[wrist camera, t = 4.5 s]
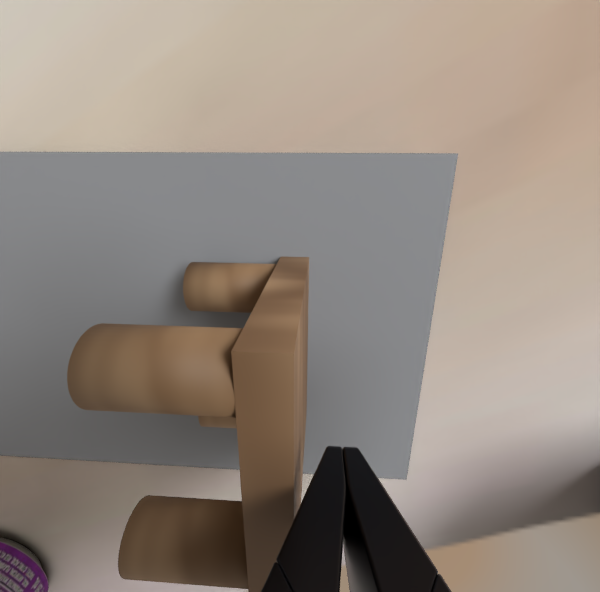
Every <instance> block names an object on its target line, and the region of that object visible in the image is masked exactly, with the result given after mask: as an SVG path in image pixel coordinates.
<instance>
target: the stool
mask: <svg viewBox="0 0 600 592" xmlns="http://www.w3.org/2000/svg"><path fill="white" fill-rule="evenodd" d="M183 295H184V300H185V304H186V306H187V308H188V309H189V310H190V311H209V312H240V313H251V314H250V316H249V318H248V320H247V322H246V324H245V326H244V328H223V327H194V326H165V325H136V324H107V323H101V324H97V325H94V326H92V327H90V328H89V329H88V330H87V331H85V332H84V333H83V335H82V336H81V337H80V338H79V340H78V341H77V343H76V345H75V347H74V349H73V351H72V354H71V357H70V360H69V364H68V371H67V384H68V390H69V393H70V396H71V398H72V400H73V402H74V403H75V404H76V405H77V406H78V407H79V408H81V409H84V410H94V411H114V412H134V413H154V414H174V415H194V416H198V419H199V423H200V425H201V426H202V427H219V428H237V438H238V452H239V466H240V479H241V493H242V501H227V500H212V499H196V498H181V497H166V496H150V495H148V496H145V497H144V498H142V499H141V500H140V502H139V503H138V504H137V505H136V507H135V509H134V510H133V512H132V514H131V516H130V518H129V520H128V523H127V525H126V528H125V531H124V534H123V537H122V541H121V545H120V550H119V558H118V569H119V574H120V576H121V577H122V578H123V579H130V580H142V581H155V582H167V583H180V584H192V585H204V586H217V587H229V588H242V589H249V592H261V590H262V588H263V586H264V584H265V582H266V580H267V578H268V576H269V573H270V571H271V569H272V567H273V565H274V563H275V562H276V558H277V556H278V554H279V552H280V549H281V547H282V545H283V543H284V540H285V538H286V536H287V534H288V532H289V529H290V527H291V525H292V523H293V520H294V518H295V516H296V514H297V511H298V509H299V507H300V505H301V490H302V475H303V460H304V444H305V429H306V414H307V358H308V301H309V257H280V259H279V261H278V263H277V264H258V263H215V262H191V263H190V264H189V265H188V266H187V268H186V271H185V274H184V280H183Z"/></svg>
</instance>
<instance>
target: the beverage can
mask: <svg viewBox="0 0 600 592" xmlns="http://www.w3.org/2000/svg"><path fill="white" fill-rule="evenodd" d="M48 588H49V584H48V579H47V577H46V574H45V573H44V571H43V569H42V566H41V564H40V562H39V560H38V558H37V557H36V556H35V555H34V554H33V553H32V552H31V551H30V550H29V549H27V548H26V547H24V546H22V545H21V544H19V543H17V542H14V541H12V540H9V539H5V538H1V537H0V592H48Z"/></svg>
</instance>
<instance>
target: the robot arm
mask: <svg viewBox="0 0 600 592" xmlns="http://www.w3.org/2000/svg"><path fill="white" fill-rule="evenodd" d="M343 545H344V553H345V560H346V568H347V575H348V582H349V589H350V592H451V590H450V589H449V587H448V586H447V584H446V583H445V581H444V579H443V578H442V576H441V575H440V574H438V571H437V569H436V567H435V566H434V564H433V563H432V561H431V560H430V558H429V556H428V555H427V553H426V552H425V550H424V549H423V547H422V546H421V544H420V543H419V541H418V539H417V538H416V536H415V535H414V533H413V532H412V530H411V529H410V527H409V526H408V524H407V522H406V521H405V519H404V518H403V516H402V515H401V513H400V512H399V510H398V509H397V507H396V505H395V504H394V502H393V501H392V499H391V498H390V496H389V495H388V493H387V492H386V490H385V488H384V487H383V485H382V484H381V482H380V481H379V479H378V478H377V476H376V475H375V473H374V471H373V470H372V468H371V467H370V465H369V464H368V462H367V461H366V459H365V457H364V456H363V454H362V453H361V451H360V450H359V449H358V448H357V447H343V449H342V447H340V446H327V447H326V449H325V451H324V453H323V456H322V458H321V460H320V462H319V465H318V467H317V469H316V471H315V473H314V476H313V478H312V480H311V482H310V485H309V487H308V489H307V491H306V494H305V496H304V498H303V500H302V503H301V505H300V507H299V509H298V511H297V514H296V516H295V518H294V520H293V523H292V525H291V527H290V529H289V532H288V534H287V536H286V538H285V540H284V543H283V545H282V547H281V549H280V552H279V554H278V556H277V558H276V562H275V563H274V565H273V567H272V569H271V571H270V573H269V576H268V578H267V580H266V582H265V584H264V586H263V588H262V590H261V592H339V590H340V589H339V588H340V576H341V562H342V548H343ZM437 574H438V575H437Z"/></svg>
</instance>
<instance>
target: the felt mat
mask: <svg viewBox="0 0 600 592" xmlns="http://www.w3.org/2000/svg"><path fill="white" fill-rule="evenodd" d="M457 157H458V154H434V153H171V152H0V455H1V456H18V457H35V458H52V459H69V460H86V461H103V462H119V463H136V464H153V465H170V466H187V467H204V468H220V469H237V470H240V466H239V452H238V438H237V428H219V427H202V426H201V425H200V423H199V419H198V416H194V415H174V414H154V413H134V412H114V411H94V410H84V409H81V408H79V407H78V406H77V405H76V404H75V403H74V402H73V400H72V398H71V396H70V393H69V390H68V384H67V371H68V364H69V360H70V357H71V354H72V351H73V349H74V347H75V345H76V343H77V341H78V340H79V338H80V337H81V336H82V335H83V333H84V332H85V331H87V330H88V329H89V328H90V327H92V326H94V325H97V324H101V323H107V324H136V325H165V326H194V327H223V328H244V326H245V324H246V322H247V320H248V318H249V316H250V314H251V313H240V312H209V311H190V310H189V309H188V308H187V306H186V304H185V300H184V295H183V280H184V274H185V271H186V268H187V266H188V265H189V264H190V263H191V262H215V263H258V264H277V263H278V261H279V259H280V257H309V301H308V358H307V414H306V429H305V444H304V460H303V473H305V474H314V473H315V471H316V469H317V467H318V465H319V462H320V460H321V458H322V456H323V453H324V451H325V449H326V447H327V446H340V447H342V449H343V447H357V448H358V449H359V450H360V451H361V453H362V454H363V456H364V457H365V459H366V461H367V462H368V464H369V465H370V467H371V468H372V470H373V471H374V473H375V475H376V476H377V478H389V479H407V473H408V466H409V460H410V454H411V447H412V441H413V435H414V428H415V422H416V416H417V409H418V403H419V397H420V390H421V384H422V378H423V372H424V365H425V359H426V353H427V346H428V340H429V334H430V327H431V321H432V315H433V308H434V302H435V296H436V289H437V283H438V277H439V271H440V264H441V258H442V252H443V245H444V239H445V233H446V226H447V220H448V214H449V207H450V201H451V195H452V189H453V182H454V176H455V170H456V163H457Z"/></svg>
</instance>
